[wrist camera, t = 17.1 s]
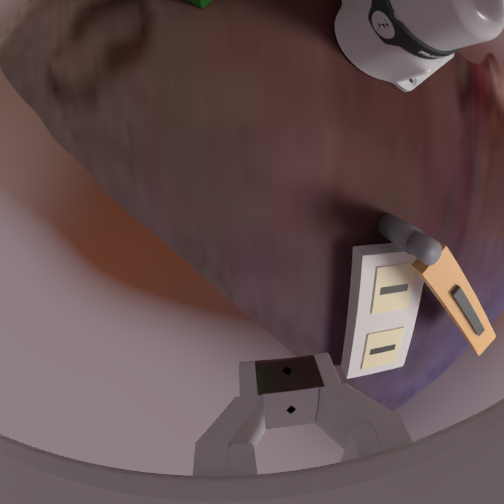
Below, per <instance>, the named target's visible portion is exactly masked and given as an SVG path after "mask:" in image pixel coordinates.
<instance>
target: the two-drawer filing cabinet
mask: <svg viewBox="0 0 504 504" xmlns="http://www.w3.org/2000/svg"><path fill="white" fill-rule="evenodd" d="M378 230H379V232H380V234H381V235H383V236H384V237H386V238H387V239H389V240H390V241H391V242H393V243H386V244H374V245H362V246H353V252H352V268H351V282H350V293H349V304H348V314H347V323H346V331H345V339H344V347H343V354H342V361H341V366H342V369H343V371H344V373H345V376H346V378H347V379H348V378H353V377H358V376H363V375H368V374H373V373H377V372H381V371H386V370H390V369H394V368H398V367H402V366H403V365H404V362H405V359H406V355H407V352H408V348H409V345H410V341H411V337H412V333H413V329H414V325H415V321H416V317H417V313H418V308H419V304H420V299H421V294H422V289H423V284H424V281H423V279H422V278H421V277H420V276H419V274H418V273H417V272H416V271H415V269H414V268H413V267H412V266H411V265H412V264H413V262H414V261H415V260H416V259H417V258H416V257H415V256H413V255H412V254H411V253H409V252H408V250H407V248H406V242H407V239H408V237H409V236H410V234H412V233H413V232H415V231H420V232H422V231H421V230H419V229H418V228H416V227H414V226H412V225H410V224H409V223H407V222H405V221H403V220H401V219H399V218H397V217H395V216H394V215H391V214H386V215H384V216H383V217H382V218H381V219H380V221H379V223H378ZM422 233H423V232H422Z"/></svg>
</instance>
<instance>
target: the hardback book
mask: <svg viewBox="0 0 504 504" xmlns="http://www.w3.org/2000/svg"><path fill="white" fill-rule="evenodd" d="M188 1H190V2H191V3H193V4H195V5H196V6H198V7H200V8H201V9H203V8H204V7H205V6H207V5H208V4H209V3H210V2H211V1H212V0H188Z"/></svg>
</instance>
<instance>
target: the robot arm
mask: <svg viewBox="0 0 504 504" xmlns="http://www.w3.org/2000/svg"><path fill="white" fill-rule="evenodd" d="M503 27H504V0H342V6H341V9H340V10H339V12H338V14H337V16H336V19H335V34H336V38H337V41H338V43H339V45H340V47H341V49H342V51H343V52H344V54H345V55H346V56H347V58H348V59H349V60H350V61H351V62H352V63H353V64H354V65H355V66H356V67H357V68H359V69H360V70H361V71H363V72H364V73H366V74H368V75H370V76H372V77H374V78H377V79H381V80H384V81H388V82H390V83H392V84H393V85H395V86H396V87H397V88H399V89H400V90H402V91H404V92H409V91H411V90H413V89H414V88H415V87H416V86H418V85H419V84H420V83H421V82H423V81H424V80H425V79H426V78H428V77H429V76H430V75H431V74H433V73H434V72H435V71H436V70H438V69H439V68H440V67H441V66H443V65H444V64H445V63H446V62H448V61H449V60H450V59H451V58H452V57H453V56H454V53H455V52H457V51H458V50H459V49H460V48H462V47H465V46H469V45H473V44H476V43H481V42H485V41H489V40H492V39H494V38H495V37H497V36H498V35H499V34H500V33H501V31H502V29H503ZM409 79H410V80H411V82H410V81H409ZM239 381H240V397H235V398H234V399H233V401H232V402H231V403H230V404H229V405H228V406H227V408H226V409H225V410H224V411H223V412H222V413H221V415H220V416H219V417H218V418H217V419H216V420H215V422H214V423H213V424H212V425H211V426H210V427H209V428H208V430H207V431H206V432H205V433H204V434H203V435H202V436H201V437H200V439H199V440H198V441H197V442H196V445H195V456H194V468H193V476H182V475H168V474H156V473H146V472H139V471H131V470H124V469H118V468H113V467H107V466H102V465H97V464H92V463H88V462H84V461H79V460H75V459H71V458H68V457H64V456H60V455H57V454H53V453H50V452H47V451H44V450H41V449H38V448H35V447H32V446H29V445H26V444H24V443H21V442H18V441H16V440H13V439H10V438H8V437H5V436H3V435H1V434H0V504H504V399H502V400H500V401H499V402H497V403H495V404H494V405H492V406H490V407H488V408H486V409H485V410H483V411H481V412H479V413H477V414H475V415H473V416H471V417H469V418H467V419H465V420H463V421H461V422H458V423H456V424H454V425H452V426H450V427H447V428H445V429H443V430H441V431H438V432H436V433H434V434H431V435H428V436H426V437H423V438H421V439H418V440H415V441H413V442H412V440H411V438H410V436H409V434H408V432H407V430H406V428H405V426H404V424H403V422H402V420H401V418H400V416H399V414H397V413H395V412H394V411H392V410H390V409H388V408H387V407H385V406H383V405H381V404H380V403H378V402H376V401H374V400H373V399H371V398H369V397H368V396H366V395H364V394H363V393H361V392H359V391H357V390H356V389H354V388H352V387H351V386H349V385H348V384H346V383H345V384H341V382H340V379H339V377H338V375H337V372H336V370H335V367H334V365H333V363H332V360H331V358H330V355H329V354H328V353H327V352H326V353H320V354H313V355H308V356H301V357H293V358H285V359H273V360H259V361H255V362H254V361H249V362H248V361H247V362H240V363H239ZM309 423H316V425H318V426H319V427H320V428H321V429H322V430H323V431H324V432H325V433H326V434H327V435H329V436H330V437H331V438H332V439H333V440H334V441H335V442H336V443H338V444H339V445H340V446H341V447H342V448H343V449H345V451H344V454H343V456H342V459H341V462H340V463H336V464H330V465H326V466H320V467H314V468H308V469H302V470H296V471H288V472H280V473H270V474H259V475H257V467H256V460H255V451H254V449H255V447H256V446H257V444H258V442H259V441H260V439H261V437H262V435H263V434H264V432H265V429H270V428H278V427H285V426H290V425H291V426H293V425H301V424H309Z"/></svg>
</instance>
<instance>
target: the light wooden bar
mask: <svg viewBox="0 0 504 504" xmlns="http://www.w3.org/2000/svg"><path fill="white" fill-rule="evenodd" d="M406 248H407V250H408V252H409V253H411V254H412V255H413V256H415V257H416V258H417V259H416V260H415V261H414V262H413V264H412V265H411V266H412V267H413V268H414V269H415V271H416V272H417V273H418V274H419V276H420V277H421V278H422V279H423V281H424V282H425V283H426V285H427V286H428V287H429V288H430V290H431V291H432V292H433V294H434V295H435V296H436V298H437V299H438V300H439V302H440V303H441V304H442V306H443V307H444V309H445V310H446V311H447V313H448V314H449V315H450V317H451V318H452V320H453V321H454V323H455V324H456V325H457V327H458V328H459V330H460V331H461V333H462V334H463V336H464V337H465V339H466V340H467V342H468V343H469V345H470V346H471V348H472V349H473V350H474V351H475V352H476V353H477V354H478V355H479V356H480V354H481V353H482V352H483V351H484V350H485V349H486V348H487V347H488V345H489V344H490V343H491V342H492V341H493V340H494V339H495V337H496V335H495V333H494V331H493V329H492V327H491V325H490V323H489V320H488V318H487V316H486V314H485V312H484V310H483V308H482V306H481V305H480V303H479V301H478V299H477V297H476V295H475V293H474V291H473V290H472V288H471V286H470V284H469V282H468V281H467V279H466V277H465V275H464V274H463V272H462V270H461V269H460V267H459V265H458V264H457V262H456V260H455V259H454V257H453V256H452V254H451V252H450V251H449V249H448V248H447V246H446V245H444V244H442V243H441V242H439V241H437V240H436V239H432V238H431V237H429V236H427V235H425V234H424V233H422V232H420V231H415V232H413V233H412V234H410V236H409V237H408V239H407V242H406Z"/></svg>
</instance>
